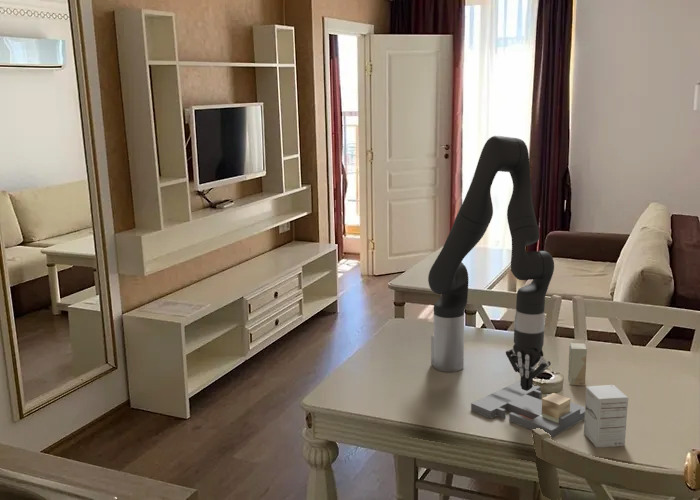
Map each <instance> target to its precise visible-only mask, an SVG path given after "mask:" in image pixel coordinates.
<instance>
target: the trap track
mask: <svg viewBox="0 0 700 500" xmlns="http://www.w3.org/2000/svg"><path fill="white" fill-rule="evenodd" d="M520 383H521V379H520V380H518V381H516V382H513V383H512V384H509V385H507V386H506V387H504V388H501V389H499V390H497V391H494V392H493V393H490V394H488V395H486V396H484V397H482V398H479V399H478V400H474V401H473V402H471V403H470V410H471V411H472V412H474V413H476V414H479V415H480V416H484V417H486V418H488V419H493V418H495V417H496V416H498V417H500V418H502V419H503V418H506V411H508V412H509V413H508V414H509V415H508V416H509V417H508V418H509V419H508V420H509V422H512V423H514V424H516V425H519V426H521V427H523V428H525V429H526V428H527V429H529V430H531V431H533V430H532V429H536V428H540V429H543V430H544V431H545V432H547V433H549V434H550V435H551V437H552V438H554V437H555V436H557V435H559V434H561V433H563V432H564V431H565V430H568V429H570V428H571V427H572V426H574V425H576V424H578V423H580V422H581V421H583V420H584V418H585V406H583V405H579V404H577V403H575V402H572V401H570V412H568V413H566V414H564V415H563V416H561V417H559V419H556V418H553V417H551V416H548V415H546V414H543V413H542V391H541V388H542V387H541V386H539V385H537V386H534V385H535V384H534V385H533V387H532V388H531V389H530V390H528V391H525V390H523V389H522V387H521V385H520ZM550 394H551V393H549V394H548V393H547V394H546V395H545V397H546V396H548V395H550Z"/></svg>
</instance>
